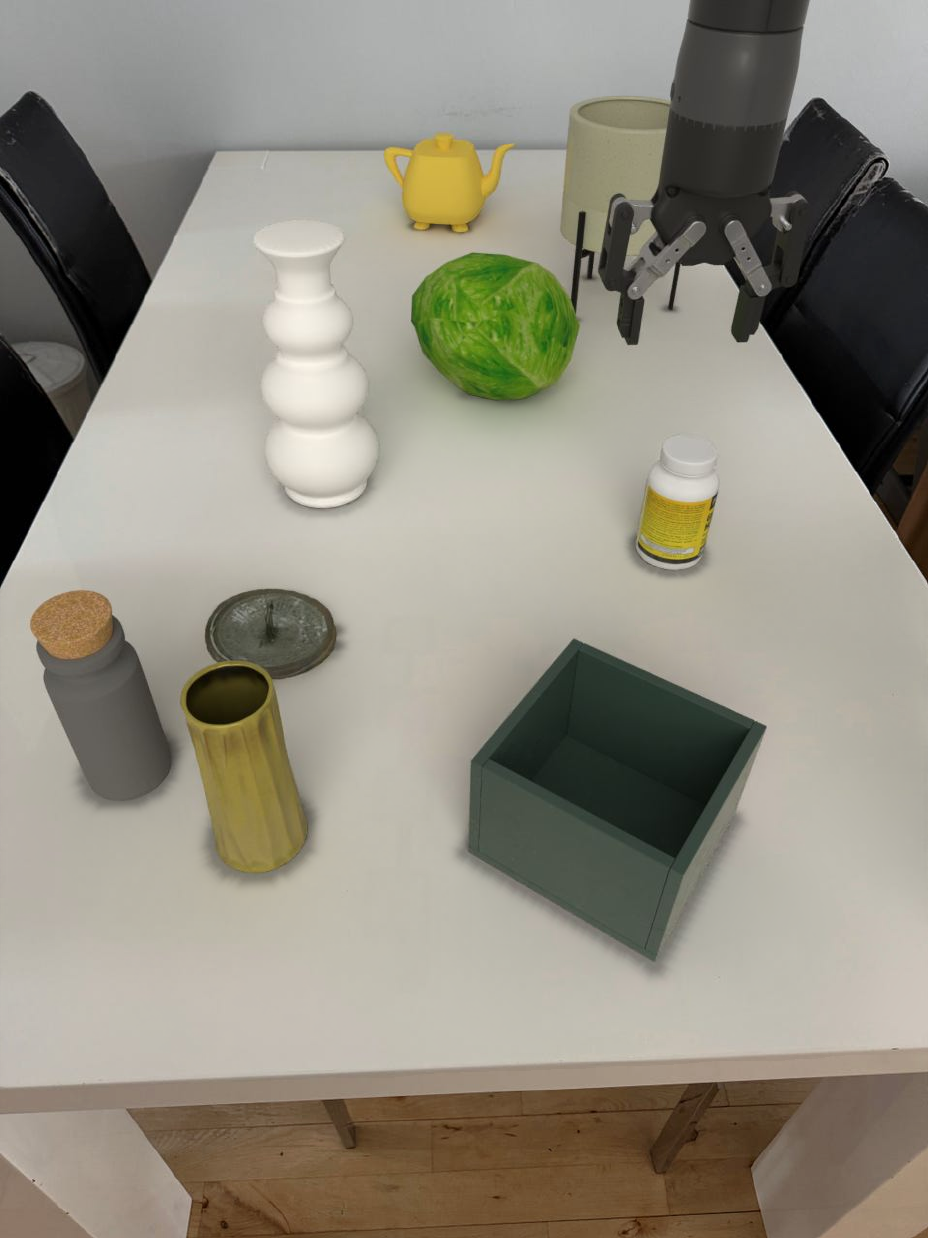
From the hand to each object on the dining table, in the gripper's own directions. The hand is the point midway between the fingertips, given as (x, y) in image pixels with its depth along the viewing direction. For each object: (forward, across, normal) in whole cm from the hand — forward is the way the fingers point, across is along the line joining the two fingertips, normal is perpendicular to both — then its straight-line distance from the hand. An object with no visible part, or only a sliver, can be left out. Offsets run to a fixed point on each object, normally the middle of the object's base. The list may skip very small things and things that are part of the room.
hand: (684, 339), depth 70 cm
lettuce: (+21, -11, +31) cm, 39 cm away
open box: (+21, -10, -30) cm, 38 cm away
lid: (+21, -33, -10) cm, 41 cm away
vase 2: (+21, -30, +12) cm, 38 cm away
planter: (+21, +8, +52) cm, 57 cm away
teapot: (+21, -12, +83) cm, 86 cm away
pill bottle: (+21, +2, 0) cm, 21 cm away
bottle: (+21, -43, -22) cm, 52 cm away
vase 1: (+21, -33, -28) cm, 48 cm away
